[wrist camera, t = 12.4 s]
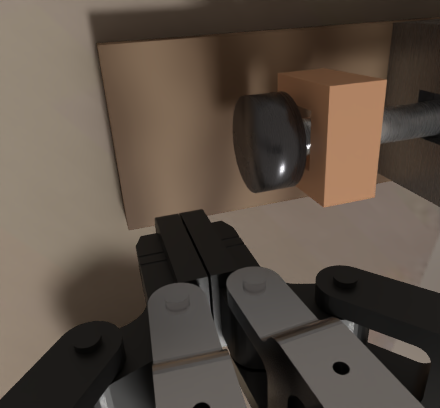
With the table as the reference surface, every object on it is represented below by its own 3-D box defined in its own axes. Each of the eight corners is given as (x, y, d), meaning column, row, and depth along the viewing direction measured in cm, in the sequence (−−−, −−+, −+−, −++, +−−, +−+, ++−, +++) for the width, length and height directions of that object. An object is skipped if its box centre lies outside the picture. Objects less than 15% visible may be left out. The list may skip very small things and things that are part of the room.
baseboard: (126, 219, 28) (128, 230, 26) (96, 43, 23) (97, 45, 21) (431, 164, 34) (445, 170, 32) (458, 15, 29) (476, 16, 28)
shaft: (234, 173, 25) (267, 208, 20) (230, 87, 22) (267, 106, 18) (404, 145, 28) (465, 171, 23) (416, 67, 25) (485, 79, 21)
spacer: (277, 172, 26) (323, 207, 21) (277, 73, 23) (329, 86, 19) (320, 165, 27) (374, 197, 22) (324, 68, 24) (386, 79, 19)
